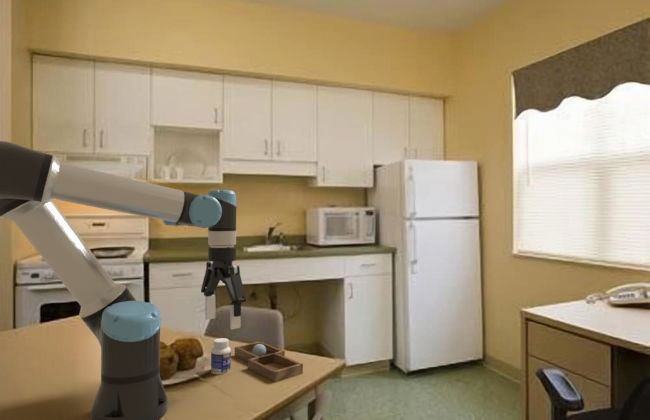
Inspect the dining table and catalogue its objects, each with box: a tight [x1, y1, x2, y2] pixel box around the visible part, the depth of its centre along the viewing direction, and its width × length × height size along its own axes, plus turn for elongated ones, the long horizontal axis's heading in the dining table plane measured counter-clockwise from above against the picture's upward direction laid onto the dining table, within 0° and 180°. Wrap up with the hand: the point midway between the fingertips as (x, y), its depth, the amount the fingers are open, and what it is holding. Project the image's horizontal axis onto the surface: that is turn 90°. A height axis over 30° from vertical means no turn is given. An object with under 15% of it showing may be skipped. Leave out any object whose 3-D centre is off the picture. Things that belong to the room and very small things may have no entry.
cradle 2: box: [247, 353, 304, 383], centre depth 120 cm, size 9×13×3 cm
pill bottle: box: [210, 337, 232, 375], centre depth 119 cm, size 5×5×9 cm
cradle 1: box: [234, 341, 286, 365], centre depth 130 cm, size 9×13×3 cm
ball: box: [253, 344, 266, 357], centre depth 130 cm, size 4×4×4 cm
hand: (222, 323), depth 120 cm, fingers open, 13 cm apart
